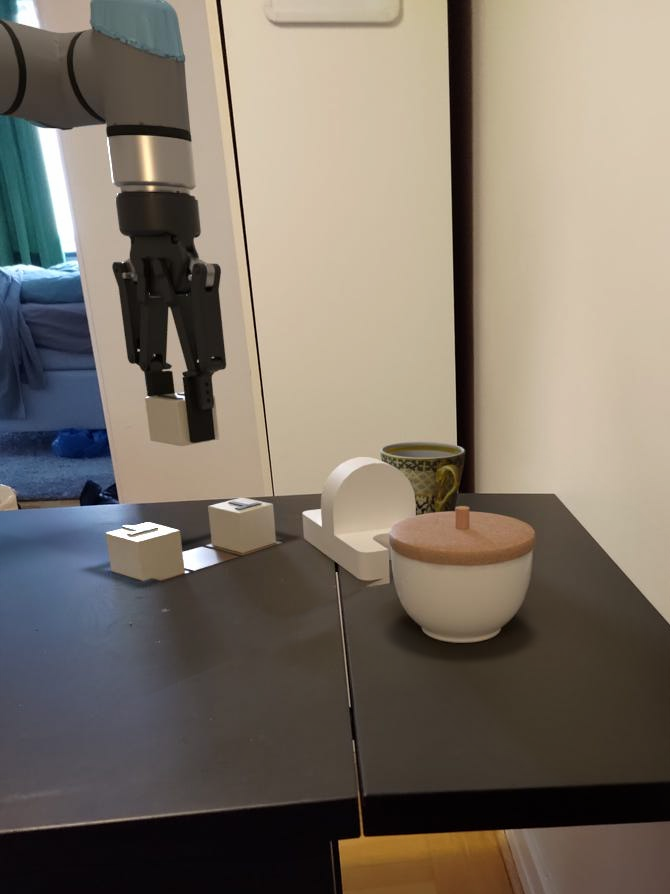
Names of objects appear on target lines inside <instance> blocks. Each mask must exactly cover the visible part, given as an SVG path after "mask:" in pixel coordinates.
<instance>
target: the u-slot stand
mask: <svg viewBox="0 0 670 894" xmlns="http://www.w3.org/2000/svg"><path fill="white" fill-rule="evenodd" d="M320 494H321V495H320V508H317V509H307V510H304V511H302V514H301V515H302V527H303V528H302V529H303V539H304V540H305V541H306V542H307V543H309V544H311V545H312V546H313V547H315V548H316V549H317V550H319V551H320V552H321V553H323V554H324V555H326V556H327V557H328V558H330V560H332V561H334V562H335V563H336V564H338V565H339V566H341V567H342V568H343V569H345V571H347V572H348V573H350V574H351V575H352V576H354V577H355V578H356V579H358V580H361V581H373V582H371V583H369V584H367V585H365V587H376V586H381V585H388V584H390V582H391V579H390V561H391V546H390V543H389V531H390V528H391V527H392V526H393V525H394V524H395V523H397V522H399V521H401V520H403V519H406V518H409V517H413V516H416V502H415V494H414V490H413V488H412V485H411V483H410V481H409V480H408V478H407V477H406V476H405V474H404V473H403V472H401V471H400V470H398V469H397V468H396V467H394V466H392V465H389V464H387V463H385V462H383V461H381V459H377V458H374V457H372V456H357V457H353V458H350V459H347V460H345V461H344V462H342V463H340V464H339V465H337V467H335V469H333V470H332V472H331V473H330V474H329V476H328V477H327V479H326V481H325V483H324V484H323V488H322V491H321V493H320Z"/></svg>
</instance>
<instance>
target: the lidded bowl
mask: <svg viewBox="0 0 670 894" xmlns="http://www.w3.org/2000/svg"><path fill="white" fill-rule="evenodd" d="M470 509H471V508H470V506H466V505H458V506H455V511H450V512H436V513H428V514H421V515H417V516H413V517H409V518H406V519H403V520H401V521H399V522H397V523H395V524H394V525H393V526H392V527H391V528H390V531H389V543H390V546H391V560H390V561H391V571H392V577H393V584H394V588H395V592H396V595H397V597H398V600H399V602H400V604H401V606H402V608H403V609H404V611H405V612H406V613H407V615H408V616H409V617H410V618H411V619H412V620H413V621H414V622H415V623H416V624H417V625H418V626H420V627H421V631H422V632H423V633H424V634H425V635H427V636H428V637H430V638H432V639H434V640H437V641H442V642H446V643H447V642H448V643H461V644H462V643H463V644H464V643H465V644H467V643H477V642H482V641H486V640H489V639H492V638H494V637H496V636H497V635H499V633H500V632H501V630H502V627H504V626H505V625H507V624H508V623H509V622H510V621H511V620H512V619H513V618H514V617H515V616H516V614H517V613H518V611H519V610H520V609H521V607H522V605H523V603H524V601H525V599H526V596H527V593H528V591H529V586H530V583H531V576H532V573H533V572H532V571H533V561H534V549H535V546H536V531H535V529H533V527H532V526H531V525H530V524H528V523H527V522H525V521H523V520H520V519H517V518H515V517H512V516H508V515H502V514H498V513H492V512H484V511H483V512H482V511H471V510H470Z"/></svg>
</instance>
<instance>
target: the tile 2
mask: <svg viewBox="0 0 670 894" xmlns="http://www.w3.org/2000/svg"><path fill="white" fill-rule="evenodd" d="M207 509H208V520H209V529H210V538H211V539H210V540H211V544H212V545H214V546H218V547H221V548H225V549H229V550H233V551H237V552H241V553H244V552H248V551H251V550H254V549H257V548H260V547H263V546H267V545H270V544H273V543H276V541H277V538H276V525H275V511H274V503H270V502H266V501H261V500H256V499H252V498H248V497H246V498H245V497H238V498H235V499H234V498H233V499H230V500H227V501H222V502H219V503H218V502H217V503H215V504H211V505H208V506H207Z"/></svg>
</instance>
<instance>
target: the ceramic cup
mask: <svg viewBox="0 0 670 894" xmlns="http://www.w3.org/2000/svg"><path fill="white" fill-rule="evenodd" d="M379 452H380V461H383V462H385V463H387V464H389V465H392V466H394V467H396V468H397V469H398V470H400V471H401V472H403V473H404V474H405V476H406V477H407V478H408V480H409V481H410V483H411V485H412V488H413V490H414V494H415V502H416V516H417V515H421V514H428V513H436V512H450V511H455V508H456V507H457V506H456V505H457V499H458V495H459V487H460V485H461V481H462V476H463V470H464V466H465V458H466V449H465V448H464V447H462V446H459V445H456V444H453V443H446V442H437V441H407V442H406V441H405V442H398V443H397V442H396V443H391V444H388V445H385V446H383V447H381V448H380V451H379Z"/></svg>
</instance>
